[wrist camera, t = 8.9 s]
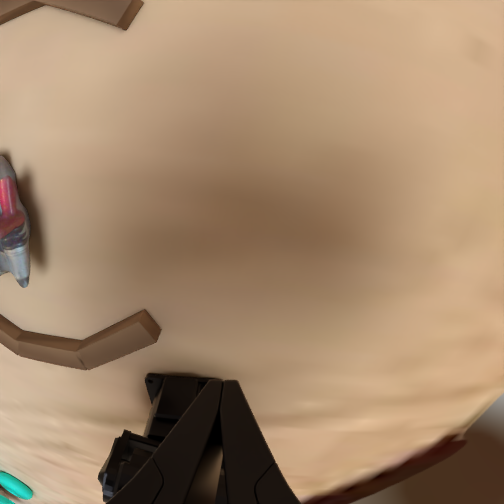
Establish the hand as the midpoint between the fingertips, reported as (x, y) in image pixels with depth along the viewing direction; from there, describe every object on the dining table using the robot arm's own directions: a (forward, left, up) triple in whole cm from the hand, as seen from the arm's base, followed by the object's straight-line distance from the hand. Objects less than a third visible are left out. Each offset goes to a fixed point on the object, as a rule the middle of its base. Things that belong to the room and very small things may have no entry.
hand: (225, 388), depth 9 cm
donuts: (-62, +55, -12) cm, 84 cm away
